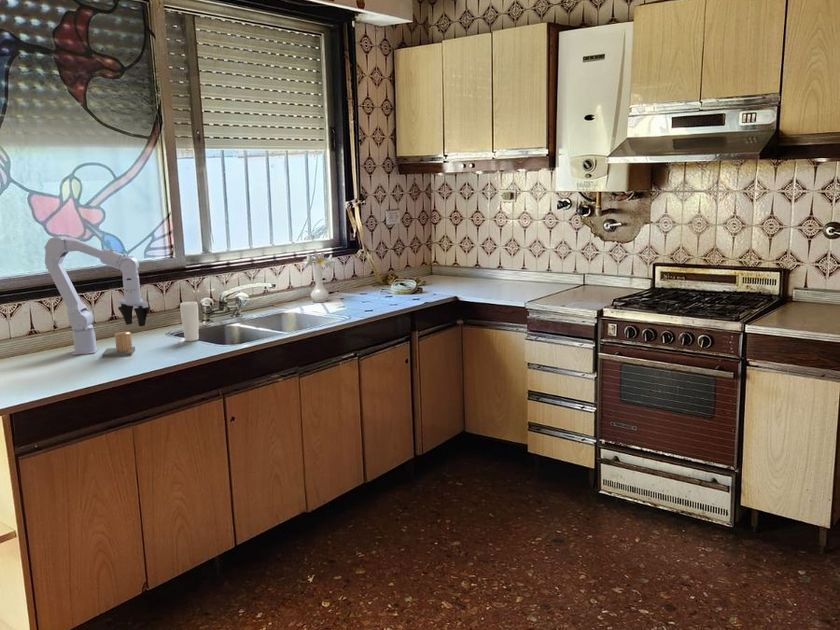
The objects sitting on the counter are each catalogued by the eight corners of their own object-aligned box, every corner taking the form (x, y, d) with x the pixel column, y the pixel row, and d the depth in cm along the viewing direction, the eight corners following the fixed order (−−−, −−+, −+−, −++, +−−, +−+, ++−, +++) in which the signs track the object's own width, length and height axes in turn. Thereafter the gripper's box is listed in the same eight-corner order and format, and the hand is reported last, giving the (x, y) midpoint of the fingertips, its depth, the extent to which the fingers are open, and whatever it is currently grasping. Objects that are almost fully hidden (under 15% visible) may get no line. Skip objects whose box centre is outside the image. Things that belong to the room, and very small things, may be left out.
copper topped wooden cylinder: (113, 351, 274) (111, 333, 273) (126, 348, 279) (124, 331, 277) (122, 352, 271) (120, 335, 270) (135, 349, 276) (133, 332, 274)
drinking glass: (179, 340, 295) (176, 303, 292) (195, 337, 300) (191, 300, 297) (188, 342, 290) (185, 305, 288) (204, 339, 295) (200, 302, 293)
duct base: (107, 351, 279) (105, 338, 278) (135, 349, 281) (133, 336, 280) (102, 357, 270) (100, 343, 269) (131, 355, 272) (129, 341, 271)
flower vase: (340, 298, 384) (338, 250, 379) (321, 304, 368) (318, 254, 363) (319, 297, 390) (316, 250, 385) (299, 303, 373) (296, 254, 369)
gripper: (153, 289, 277) (157, 324, 279) (128, 286, 284) (132, 321, 287) (137, 291, 271) (141, 328, 273) (112, 289, 278) (116, 324, 281)
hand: (135, 325), depth 280 cm, fingers open, 7 cm apart
